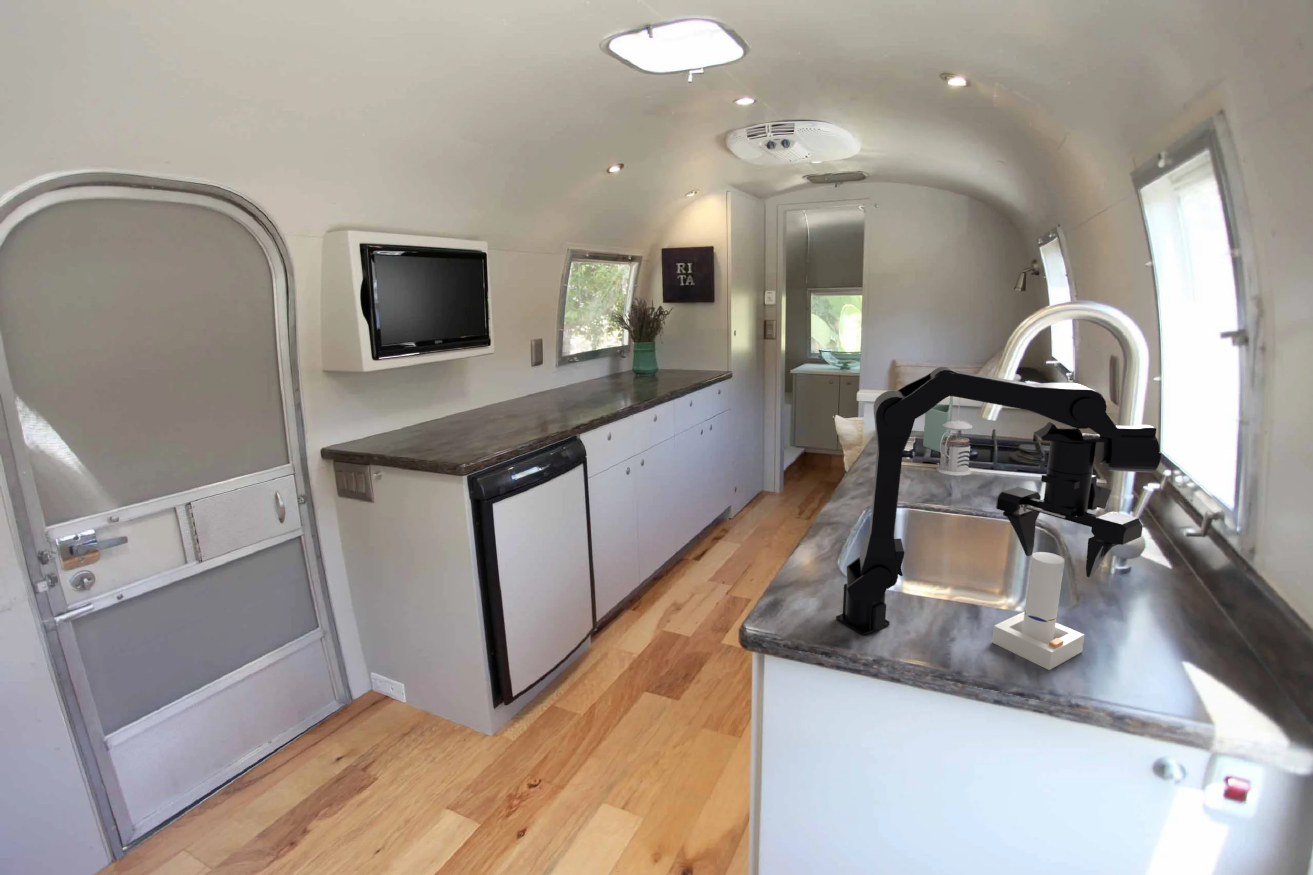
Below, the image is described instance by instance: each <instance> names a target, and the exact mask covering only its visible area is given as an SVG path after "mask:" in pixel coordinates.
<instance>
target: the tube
mask: <svg viewBox="0 0 1313 875" xmlns="http://www.w3.org/2000/svg"><path fill="white" fill-rule="evenodd" d="M1065 562H1066V561H1065V558H1064V557H1062V556H1061V555H1058V554H1055V553H1052V552H1046V551H1036V552H1032V555H1031V561H1030V567H1029V568H1030V569H1029V575H1028V581H1027V582H1028V584H1027V589H1026V596H1025V598H1026V599H1025V603H1024V604H1025V605H1024V611H1023V612H1024V620H1023V627H1022V633H1023V634H1025V635H1027V636H1029V637H1032V638H1034V639H1036V640H1038V641H1040V642H1043V643H1045V644H1049V642H1050V641H1052V640H1053V638H1054V631H1055V624H1056V623H1057V616H1058V609H1059V602H1060V595H1061V590H1062V589H1061V587H1062V580H1063V574H1064V569H1065V568H1064V567H1065Z"/></svg>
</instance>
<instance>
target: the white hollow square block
mask: <svg viewBox="0 0 1313 875" xmlns="http://www.w3.org/2000/svg"><path fill="white" fill-rule="evenodd" d="M1024 612H1025V611H1023V612H1020V613H1018V614H1017V615H1014V616H1011V617H1010V618H1007V619H1005V620H1002V621H1001V622H999V623H997V624H994V625H993V632H992V642H991V643H992V644H995V645H996V646H999V647H1000V648H1002V649H1004V650H1006V651H1009V652H1011V653H1013V654H1015V655H1017V656H1019V657H1021V658H1023V659H1024V660H1028V661H1029V662H1032V663H1033V664H1036V665H1038V666H1040V667H1042V668H1044V669H1046V670H1047V671H1051V670H1052V669H1054V668H1056V667H1057V666H1060V665H1062V664H1063V663H1065V662H1066V661H1068V660H1070V659H1072V658H1074V657H1075V656H1077V655H1080V653H1083V649H1084V648H1083V647H1084V641H1085V634H1084V633H1082V632H1079V631H1077V630H1075V629H1072V628H1070V627H1067V626H1065V625H1063V624H1060V623H1058V622H1056V624H1055V631H1054V638H1053V640H1052V641H1050V642H1049V644H1045V643H1043V642H1040V641H1038V640H1036V639H1034V638H1032V637H1029V636H1027V635H1025V634H1023V633H1022V627H1023V620H1024Z"/></svg>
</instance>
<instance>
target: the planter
mask: <svg viewBox="0 0 1313 875" xmlns="http://www.w3.org/2000/svg"><path fill="white" fill-rule="evenodd" d="M953 400H954V396H949V404H941V405H935V406H934V407H933V408H931V409H930V410H929V411H928V412H926V413H925V414H924V427H923V441H922V446H923V447H924V448H927V449H930V450H933V451H935V452H938V453H941V452H940V442H941V446H942V442H946V441H944V440H943V439H942V436H943V435H944V433H945V432H947V436H949V435H950V434H951V430H950V429H946V428H944V427H943V424H945V423H947V422H949V421H952V420H953V419H952V417H953V404H954V403H953V402H954V401H953ZM947 436H946V434H945V435H944V436H943V438H944V437H947ZM950 436H951V435H950ZM941 439H942V441H941ZM941 449H942V448H941ZM947 450H949V448H948V447H947ZM941 451H942V450H941Z"/></svg>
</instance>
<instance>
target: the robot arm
mask: <svg viewBox="0 0 1313 875" xmlns="http://www.w3.org/2000/svg"><path fill="white" fill-rule="evenodd" d="M950 396H953V398H954V397H955V398H960V399H964V400H971V401H976V402H980V403H987V404H991V405H992V404H993V405H998V406H1004V407H1008V408H1015V409H1019V410H1025V411H1029V412H1032V413H1035V414H1038V415H1040V416H1043V417H1045V418H1048V419H1050V420H1052V421H1055V422H1058V423H1061V424H1063V425H1066V426H1069V427H1057V426H1056V424H1054V423H1052V422H1050V421H1049V422H1047V423H1046V424H1045V426H1042V427H1041V428H1040V429H1038V430H1036V431H1035V436H1036V437H1038V438H1039V439H1040V440H1041V441H1042V442H1043V441H1044V442H1045V441H1046V442H1050V443H1049V451H1048V458H1047V460H1048V461H1047V469H1046V473H1044V474H1041V478H1040V482H1043V483H1045V484H1044V485H1045V486H1044V494H1043V495H1044V496H1043V498H1042V497H1041V495H1040V493H1039V492H1038V491H1035V490H1031V489H1028V488H1025V487H1021V486H1016V487H1014V488H1010V489H1007V490H1003V491H1001V492H1000V493H998V495H997V497H996V499H995V500H996V502H995V509H996V510H999V511H1002V516H1004V517H1006V518H1007V519H1008V521H1009V523H1010V525H1011V526H1012V528H1013V530H1014V532H1015V534H1016V536H1017V539H1018V541H1019V543H1020V545H1021V547H1022V550H1023V552H1024V554H1025V556H1026V557H1032V554H1033V553H1034V552H1033V551H1034V547H1035V536H1036V534H1035V533H1036V525H1037V524H1036V523H1037V519H1038V517H1039V515H1040V514H1044V515H1047V516H1052V517H1055V518H1058V519H1061V520H1064V521H1069V522H1071V523H1075V524H1079V525H1082V526H1086V527H1090V528H1091V533H1092V535H1093V536H1092V537H1091V536H1090V537H1088V540H1087V549H1086V551H1087V552H1086V563H1085V575H1086V577H1087V578H1092V577H1093V576H1094V575H1095V574H1096V571H1097V570H1099V567H1100V566H1101V564H1102V563H1103V561H1104V559H1105V557H1106V556H1107V555H1108V553H1109V552H1110V551H1111V549H1112V548H1114V547H1116V546H1118V545H1119V546H1120V545H1122V546H1123V545H1125V544H1128V543H1130V542H1132V541H1135V540H1136V539H1139V538H1141V537H1142V532H1143V526H1144V525H1143V524H1142V522H1141V520H1140V519H1139V518H1138V517H1135V516H1131V515H1128V514H1124V513H1120V512H1115V511H1110V512H1107V513H1104V514H1102V515H1099V514H1094V513H1091V512H1088V511H1089V510H1090V511H1094V510H1097V508H1098V509H1101V510H1102V509H1103V510H1106V508H1107V506H1108V502H1109V498H1110V495H1111V492H1112V490H1111V489H1109V488H1106V487H1104V486H1100V485H1098V484H1097V483H1098V480H1097V475H1094V474H1093V471H1094V463H1095V462H1096V463H1097V464H1099V465H1102V466H1101V467H1102V468H1103V469H1104V470H1105V471H1107V472H1125V473H1126V472H1127V473H1130V472H1131V473H1136V472H1137V473H1155V472H1156V471H1157V469H1158V468H1159V465H1160V463H1161V459H1162V453H1161V451H1160V444H1159V439H1158V438H1157V436H1156V434H1157V428H1156V427H1154V426H1152V425H1150V424H1138V425H1115V423H1114V422H1113V420H1112V419H1111V417H1110V416H1109V415H1108V413H1107V407H1108V406H1107V402H1106V399H1105V397H1104V396H1103V394H1102V393H1100V392H1098V391H1096V390H1095V389H1092V388H1090V387H1087V386H1085V385H1083V384H1080V383H1076V382H1043V383H1042V382H1040V383H1030V382H1029V383H1028V382H1025V381H1024V382H1023V381H1018V380H1012V379H1007V378H1001V377H996V376H989V375H984V374H977V373H973V372H968V371H961V370H956V369H952V368H950V367H948V366H940V367H936V368H935V369H933V370H932V371H931V372H929V373H928V374H926V375H925V376H922V377H919V378H918V379H916V380H914V381H912V382H909V383H908V384H906V385H904V386H903V387H901V388H899V389H897V390H887V391H885V392H882V393H881V394H880V395H878V396H877V397H876V399H875V400H874V403H873V417H874V427H875V436H876V446H877V447H876V449H877V450H876V460H875V471H874V481H873V489H872V490H873V493H872V502H871V513H870V522H869V528H868V530H867V533H866V535H865V538H864V541H863V542H862V543H863V544H862V547H861V550H860V553H859V556H858V557H857V558H856V559H855V560H853V561H852V562H851V563H849V564H848V565H847V566H846V568H845V569H846V583H844V584H843V596H842V597H843V598H842V613H841V614H838V615H836V616H835V620H836V621H838V622H840V623H842V625H843V624H844V625H845V626H847V627H849V628H850V629H852V630H853V631H855V632H857V633H858V634H860V635H862V636H864V635H865V636H866V635H869V634H871V633H873V632H877V631H879V630H881V629H883V628H885V627H888V626H890V624H891V623H890V622H891V621H890V620H887V619H886V616H887V615H886V614H887V604H886V603H885V602H886V591H887V590H889V589H890V588H892V587H894V586H895V585H896V583H897V582H898V578H899V577H903V571H902V565H903V562H904V558H905V553H906V552H905V549H904V545H903V540H902V538H901V537H900V538H895V529H896V522H897V519H896V518H897V509H898V500H899V493H900V492H899V491H900V482H901V472H902V471H901V470H902V462H903V454H904V451H905V449H906V446H908V442H909V440H910V437H911V434H912V431H913V427H914V424H915V420H916V419H918V418H920V417H921V416H923V415H925V413H926V412H928V411H929V410H930V409H931V408H933V407H934V406H938V405H939V404H940V403H941V402H942V401H943V400H945V399H947V398H948V397H950ZM1081 429H1082V430H1085V429H1090V430H1091V431H1092V432H1094V433H1082V431H1081ZM1041 498H1042V499H1041Z"/></svg>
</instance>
